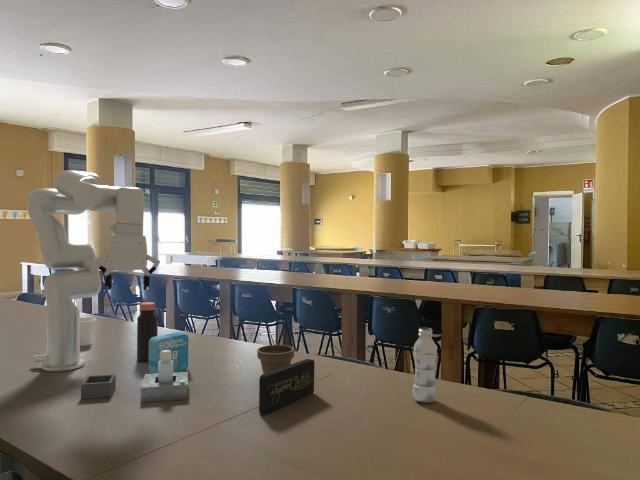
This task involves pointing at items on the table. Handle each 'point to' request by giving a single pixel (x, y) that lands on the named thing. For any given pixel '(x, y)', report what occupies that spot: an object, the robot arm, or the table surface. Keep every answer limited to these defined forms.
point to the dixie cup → (86, 330)
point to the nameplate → (285, 386)
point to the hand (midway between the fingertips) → (127, 289)
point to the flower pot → (275, 357)
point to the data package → (169, 342)
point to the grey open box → (98, 386)
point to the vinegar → (146, 330)
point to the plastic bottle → (424, 367)
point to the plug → (165, 367)
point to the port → (164, 388)
